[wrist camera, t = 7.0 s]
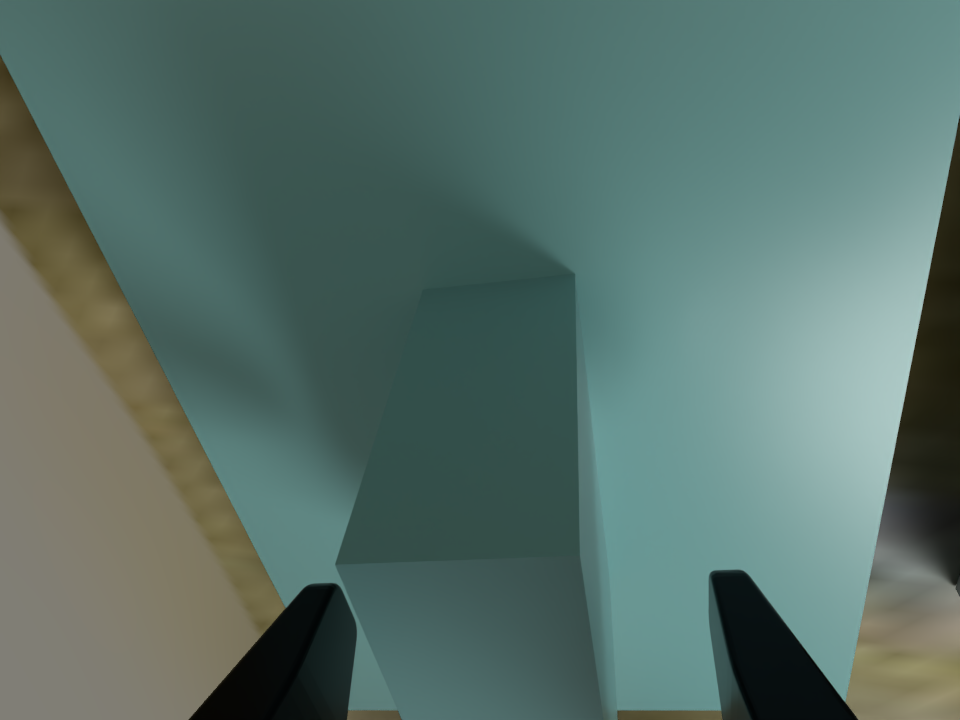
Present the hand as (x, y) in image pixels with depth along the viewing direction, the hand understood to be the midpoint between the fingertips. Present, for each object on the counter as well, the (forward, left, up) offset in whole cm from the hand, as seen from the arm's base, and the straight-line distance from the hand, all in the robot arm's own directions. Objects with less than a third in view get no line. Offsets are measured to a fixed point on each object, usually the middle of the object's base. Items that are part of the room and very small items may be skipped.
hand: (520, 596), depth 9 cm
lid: (0, 0, -5) cm, 5 cm away
